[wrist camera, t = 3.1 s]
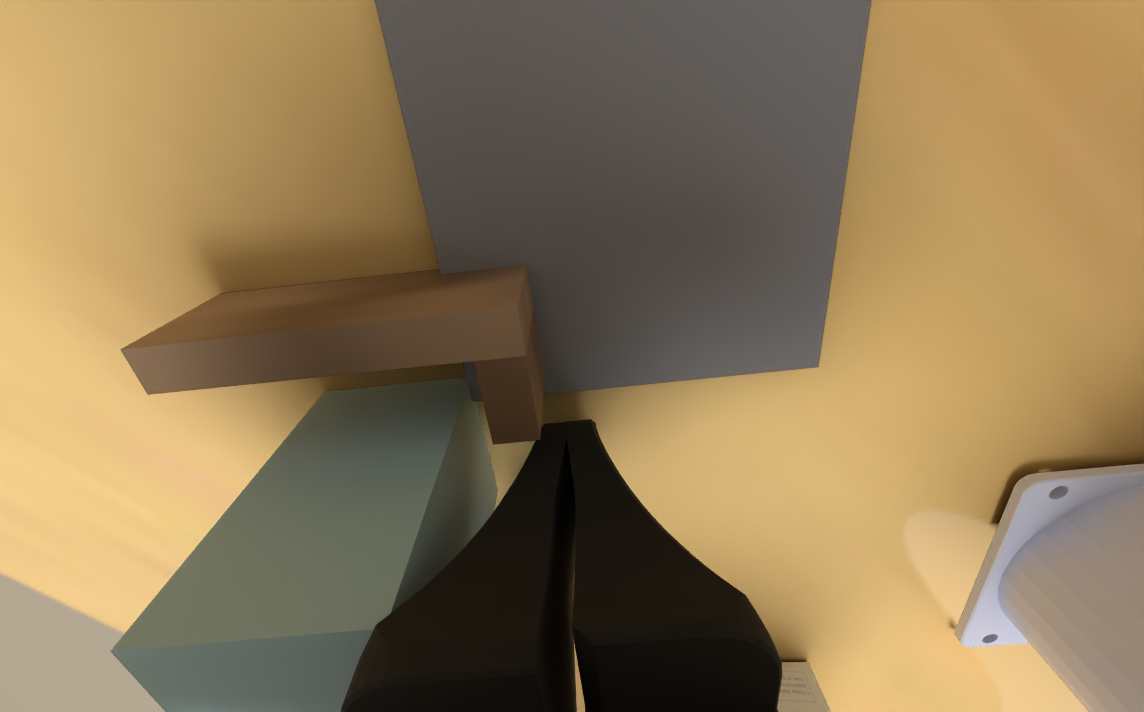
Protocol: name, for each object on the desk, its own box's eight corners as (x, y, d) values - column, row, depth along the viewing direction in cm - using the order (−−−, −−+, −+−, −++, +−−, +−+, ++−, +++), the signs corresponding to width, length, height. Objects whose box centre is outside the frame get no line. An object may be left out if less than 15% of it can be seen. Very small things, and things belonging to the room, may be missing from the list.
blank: (470, 376, 13) (386, 628, 7) (497, 489, 15) (450, 768, 9) (324, 391, 13) (109, 651, 7) (369, 501, 15) (231, 784, 9)
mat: (871, -84, 9) (884, -92, 8) (811, 359, 13) (818, 367, 12) (377, -18, 9) (369, -23, 9) (474, 393, 13) (472, 401, 13)
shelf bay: (528, 259, 11) (517, 306, 9) (573, 553, 16) (575, 643, 13) (220, 293, 12) (120, 349, 9) (351, 572, 16) (310, 664, 14)
